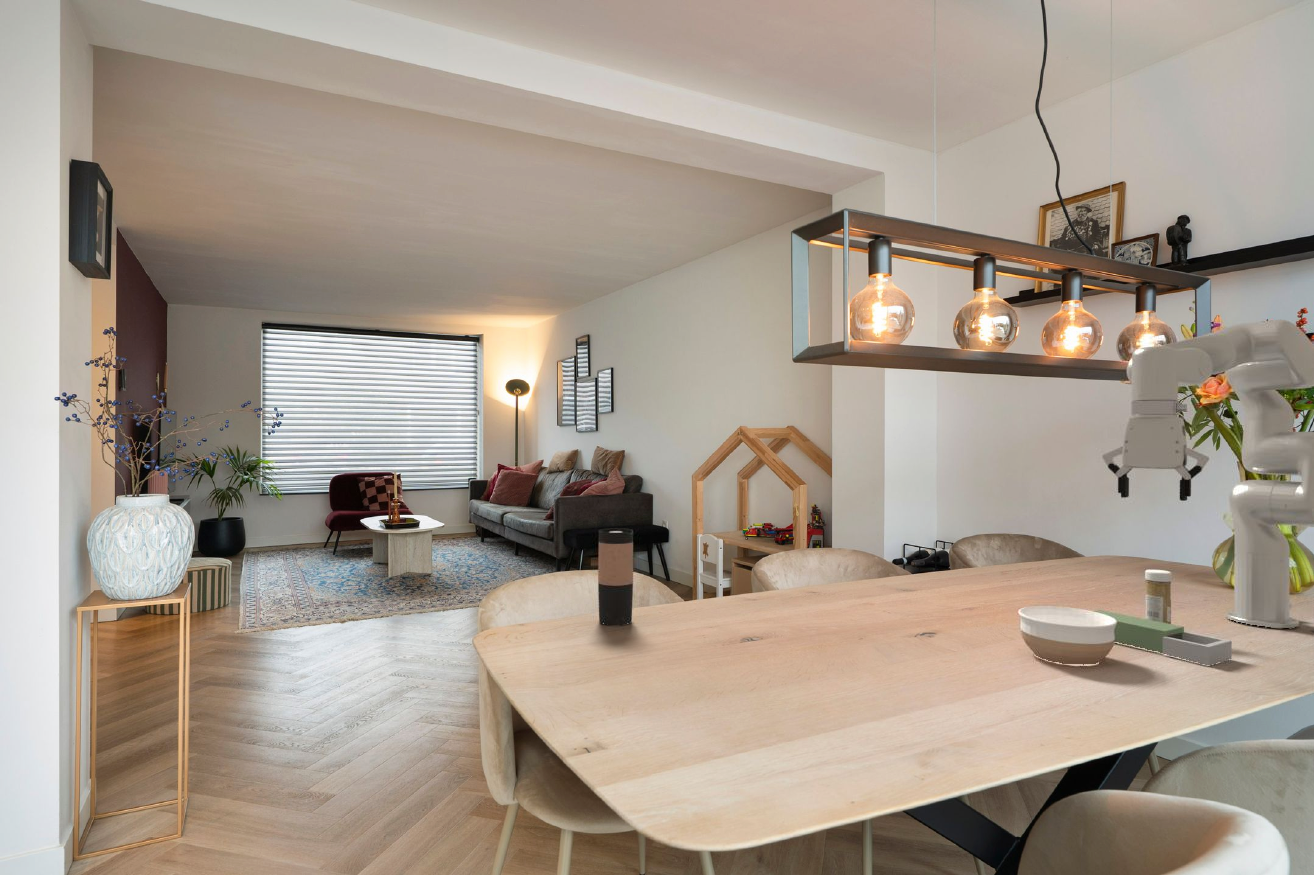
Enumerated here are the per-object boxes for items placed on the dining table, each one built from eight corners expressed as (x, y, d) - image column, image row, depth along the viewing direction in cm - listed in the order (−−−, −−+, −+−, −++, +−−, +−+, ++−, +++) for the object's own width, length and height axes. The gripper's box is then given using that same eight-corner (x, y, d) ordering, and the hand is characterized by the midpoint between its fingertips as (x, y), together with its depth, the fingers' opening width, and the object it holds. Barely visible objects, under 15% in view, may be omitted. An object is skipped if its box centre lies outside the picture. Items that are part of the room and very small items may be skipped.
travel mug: (592, 619, 164) (593, 529, 164) (624, 616, 167) (625, 527, 167) (605, 627, 157) (605, 533, 157) (638, 624, 160) (638, 531, 160)
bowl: (1132, 674, 127) (1132, 628, 127) (1032, 668, 130) (1032, 623, 131) (1097, 649, 143) (1097, 608, 143) (1008, 644, 146) (1008, 603, 146)
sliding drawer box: (1101, 630, 156) (1101, 609, 156) (1231, 659, 136) (1231, 635, 136) (1077, 635, 152) (1078, 614, 152) (1208, 666, 132) (1208, 641, 132)
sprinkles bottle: (1177, 638, 151) (1177, 572, 151) (1157, 639, 150) (1157, 572, 150) (1159, 632, 155) (1159, 568, 155) (1139, 633, 155) (1139, 569, 155)
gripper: (1212, 410, 141) (1211, 500, 140) (1108, 412, 153) (1107, 495, 153) (1205, 409, 135) (1204, 502, 135) (1098, 411, 147) (1097, 497, 147)
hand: (1153, 498), depth 144 cm, fingers open, 9 cm apart
